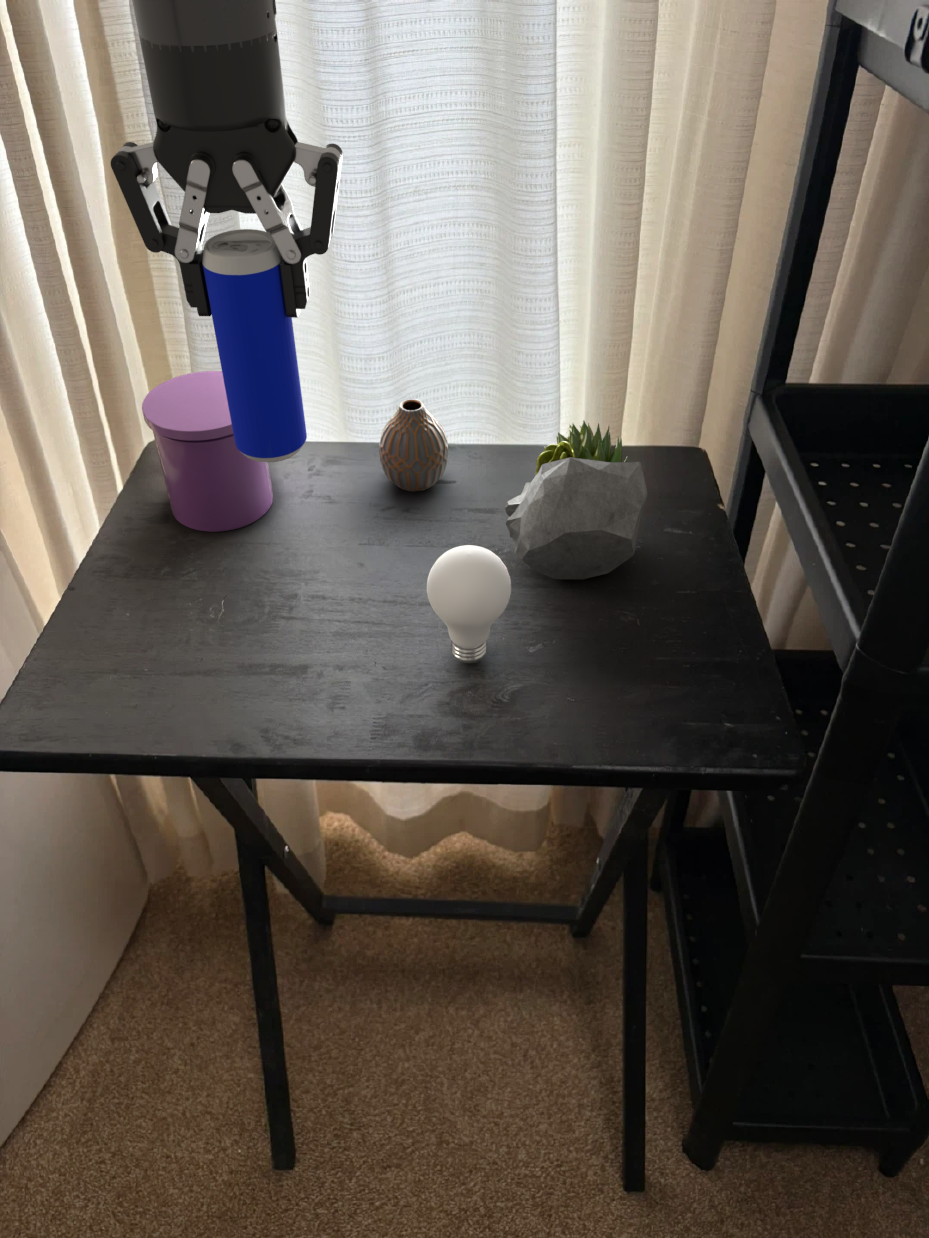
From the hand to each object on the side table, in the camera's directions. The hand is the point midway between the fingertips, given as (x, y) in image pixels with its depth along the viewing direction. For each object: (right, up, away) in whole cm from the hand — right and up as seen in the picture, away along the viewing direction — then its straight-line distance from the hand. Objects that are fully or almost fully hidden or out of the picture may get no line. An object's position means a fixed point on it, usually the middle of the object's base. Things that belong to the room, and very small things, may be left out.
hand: (251, 311), depth 68 cm
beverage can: (0, -8, +7) cm, 11 cm away
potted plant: (+24, -14, +29) cm, 40 cm away
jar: (-10, -9, +35) cm, 37 cm away
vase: (+9, -6, +37) cm, 39 cm away
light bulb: (+14, -24, +18) cm, 33 cm away
